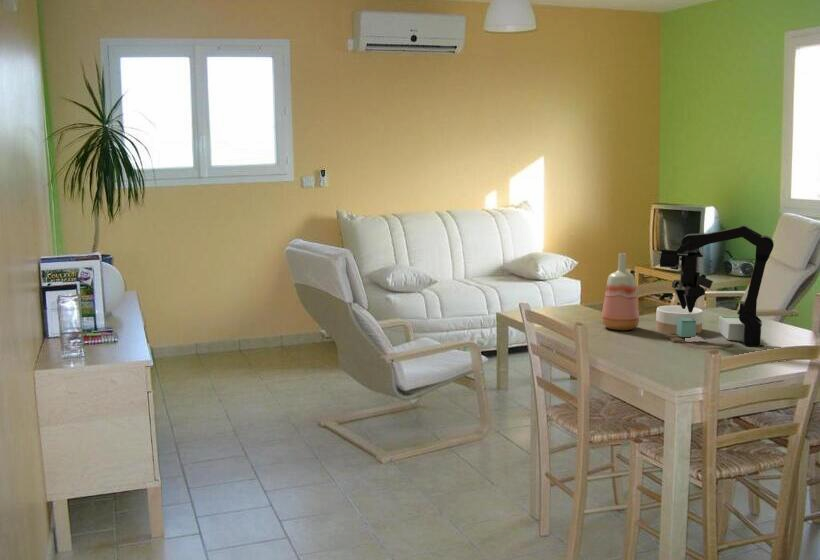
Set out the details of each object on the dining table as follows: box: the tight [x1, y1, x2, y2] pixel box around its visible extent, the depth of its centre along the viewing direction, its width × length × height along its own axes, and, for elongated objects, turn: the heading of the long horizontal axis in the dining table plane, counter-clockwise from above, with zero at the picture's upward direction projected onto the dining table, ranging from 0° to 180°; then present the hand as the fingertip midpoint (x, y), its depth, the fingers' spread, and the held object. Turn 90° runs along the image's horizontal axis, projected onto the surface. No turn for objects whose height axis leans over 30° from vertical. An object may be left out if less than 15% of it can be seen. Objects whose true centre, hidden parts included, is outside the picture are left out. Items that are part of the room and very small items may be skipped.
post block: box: [665, 334, 706, 343], centre depth 327 cm, size 9×12×7 cm
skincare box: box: [717, 315, 745, 342], centre depth 332 cm, size 8×7×16 cm
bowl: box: [655, 304, 704, 335], centre depth 344 cm, size 17×17×8 cm
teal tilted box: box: [676, 318, 696, 337], centre depth 327 cm, size 5×5×6 cm
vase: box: [600, 252, 640, 331], centre depth 345 cm, size 14×14×30 cm
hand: (687, 310), depth 326 cm, fingers open, 7 cm apart
